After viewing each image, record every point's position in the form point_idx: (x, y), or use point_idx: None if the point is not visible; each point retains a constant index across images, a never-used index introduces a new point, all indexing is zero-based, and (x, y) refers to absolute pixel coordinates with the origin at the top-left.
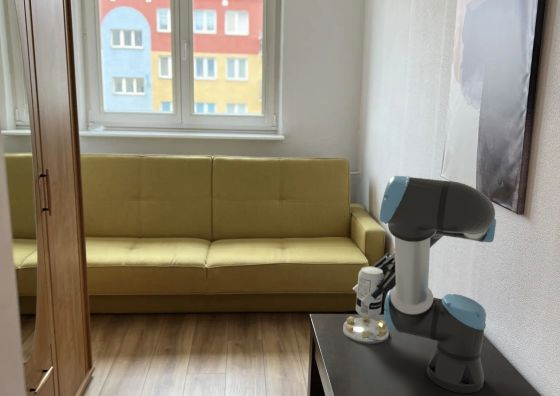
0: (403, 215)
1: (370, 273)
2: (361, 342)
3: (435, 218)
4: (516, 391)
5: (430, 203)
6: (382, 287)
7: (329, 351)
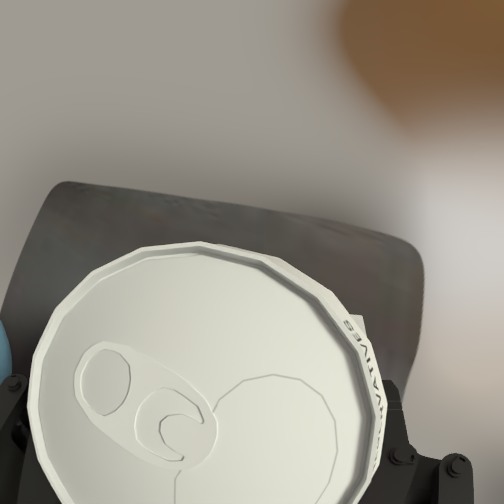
0: None
1: (80, 333)
2: None
3: None
4: None
5: None
6: (13, 378)
7: (176, 210)
